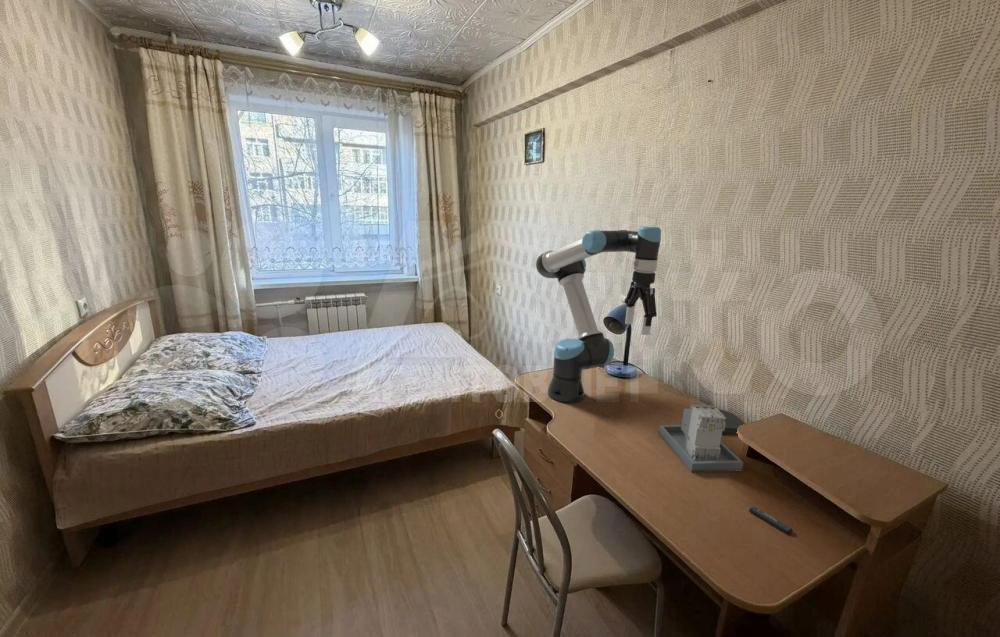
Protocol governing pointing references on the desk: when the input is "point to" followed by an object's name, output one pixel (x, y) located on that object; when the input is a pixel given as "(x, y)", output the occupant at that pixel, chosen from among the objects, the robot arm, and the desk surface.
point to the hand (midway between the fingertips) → (636, 329)
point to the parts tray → (676, 442)
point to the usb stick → (771, 520)
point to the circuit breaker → (703, 431)
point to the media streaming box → (731, 422)
